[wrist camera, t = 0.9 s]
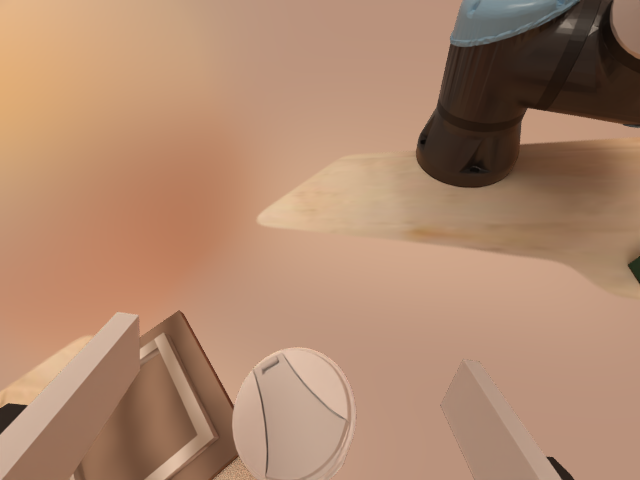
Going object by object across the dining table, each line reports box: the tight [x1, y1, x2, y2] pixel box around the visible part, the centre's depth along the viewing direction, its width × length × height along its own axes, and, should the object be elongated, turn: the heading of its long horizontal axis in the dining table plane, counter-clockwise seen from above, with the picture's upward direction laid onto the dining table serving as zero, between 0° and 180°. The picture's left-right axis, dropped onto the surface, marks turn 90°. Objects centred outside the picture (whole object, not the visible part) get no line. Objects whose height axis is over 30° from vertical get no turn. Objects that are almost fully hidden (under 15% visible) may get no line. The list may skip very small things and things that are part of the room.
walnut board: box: [69, 311, 239, 480], centre depth 32 cm, size 18×18×2 cm
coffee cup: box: [232, 347, 356, 480], centre depth 25 cm, size 8×8×15 cm
